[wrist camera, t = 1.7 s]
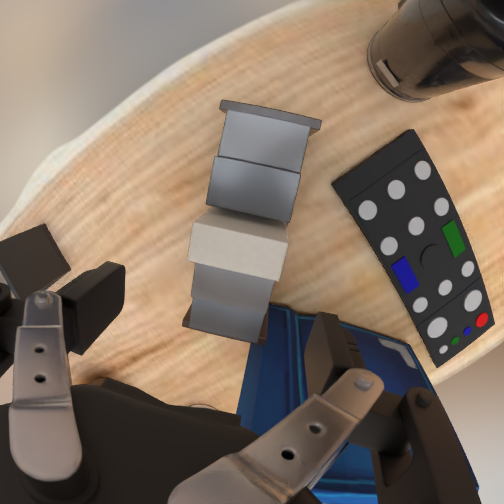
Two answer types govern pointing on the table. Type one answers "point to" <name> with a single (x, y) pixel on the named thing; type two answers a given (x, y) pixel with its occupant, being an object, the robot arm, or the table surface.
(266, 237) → the white book
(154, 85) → the table surface
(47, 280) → the dark book holder
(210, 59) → the table surface
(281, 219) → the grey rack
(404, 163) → the remote control
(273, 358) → the book
